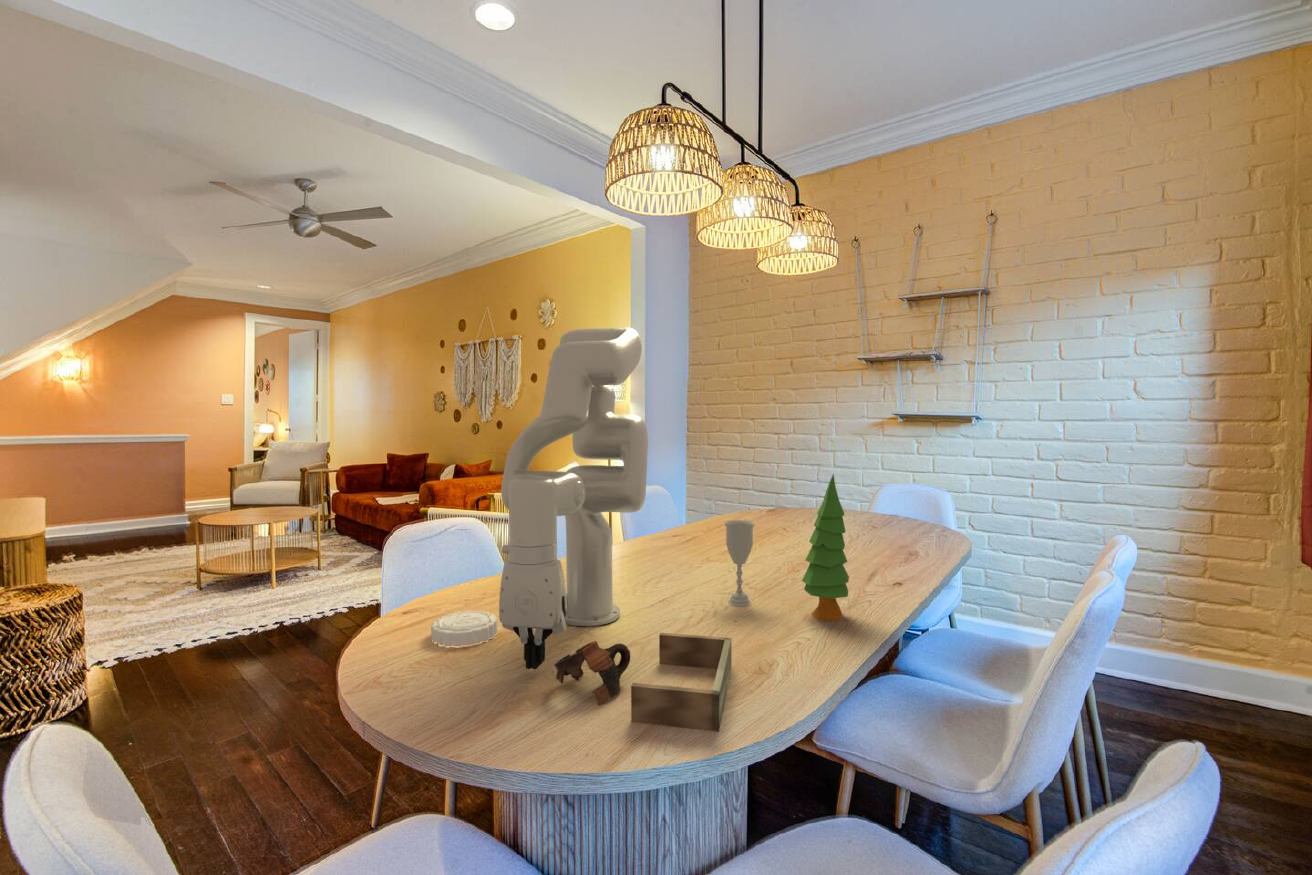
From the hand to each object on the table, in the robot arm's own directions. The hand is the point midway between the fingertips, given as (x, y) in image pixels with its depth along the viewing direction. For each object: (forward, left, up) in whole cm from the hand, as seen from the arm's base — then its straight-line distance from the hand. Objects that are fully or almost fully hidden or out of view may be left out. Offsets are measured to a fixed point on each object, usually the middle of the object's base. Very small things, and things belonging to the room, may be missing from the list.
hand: (534, 665), depth 94 cm
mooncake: (-20, +13, -2) cm, 24 cm away
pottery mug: (+11, -3, -2) cm, 12 cm away
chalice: (+30, +43, -2) cm, 52 cm away
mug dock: (+25, -1, -1) cm, 25 cm away
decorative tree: (+48, +38, -2) cm, 61 cm away
